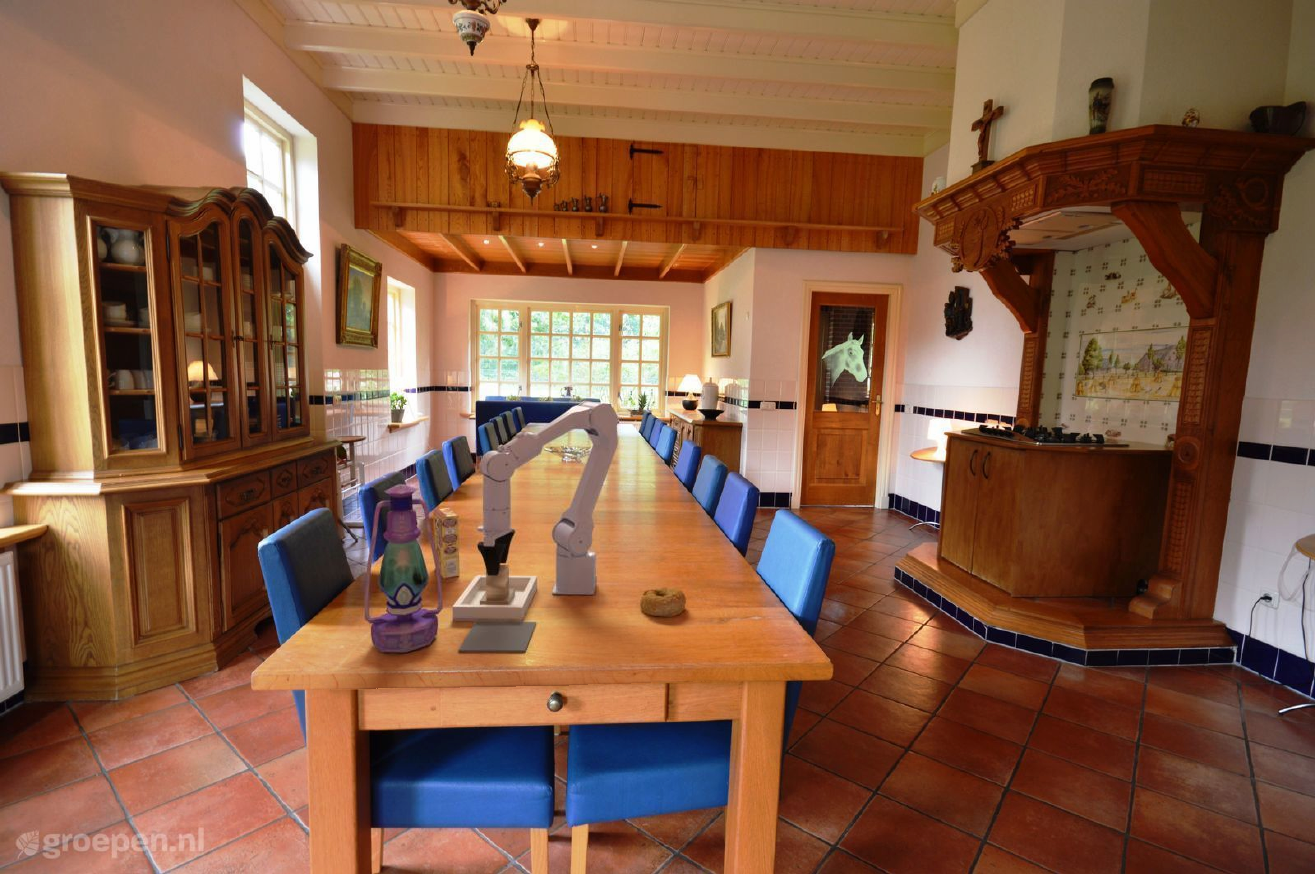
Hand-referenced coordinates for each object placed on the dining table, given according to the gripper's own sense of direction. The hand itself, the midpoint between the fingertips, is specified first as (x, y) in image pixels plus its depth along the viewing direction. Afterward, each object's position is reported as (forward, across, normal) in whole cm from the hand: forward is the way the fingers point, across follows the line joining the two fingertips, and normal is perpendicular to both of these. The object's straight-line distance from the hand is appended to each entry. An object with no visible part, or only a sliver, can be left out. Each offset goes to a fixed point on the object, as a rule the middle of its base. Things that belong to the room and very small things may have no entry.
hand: (497, 568), depth 129 cm
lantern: (+8, +18, -13) cm, 24 cm away
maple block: (+6, 0, 0) cm, 6 cm away
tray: (+8, 0, 0) cm, 8 cm away
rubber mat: (+8, +16, +4) cm, 18 cm away
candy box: (+8, -19, -17) cm, 27 cm away
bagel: (+8, +2, +36) cm, 37 cm away
